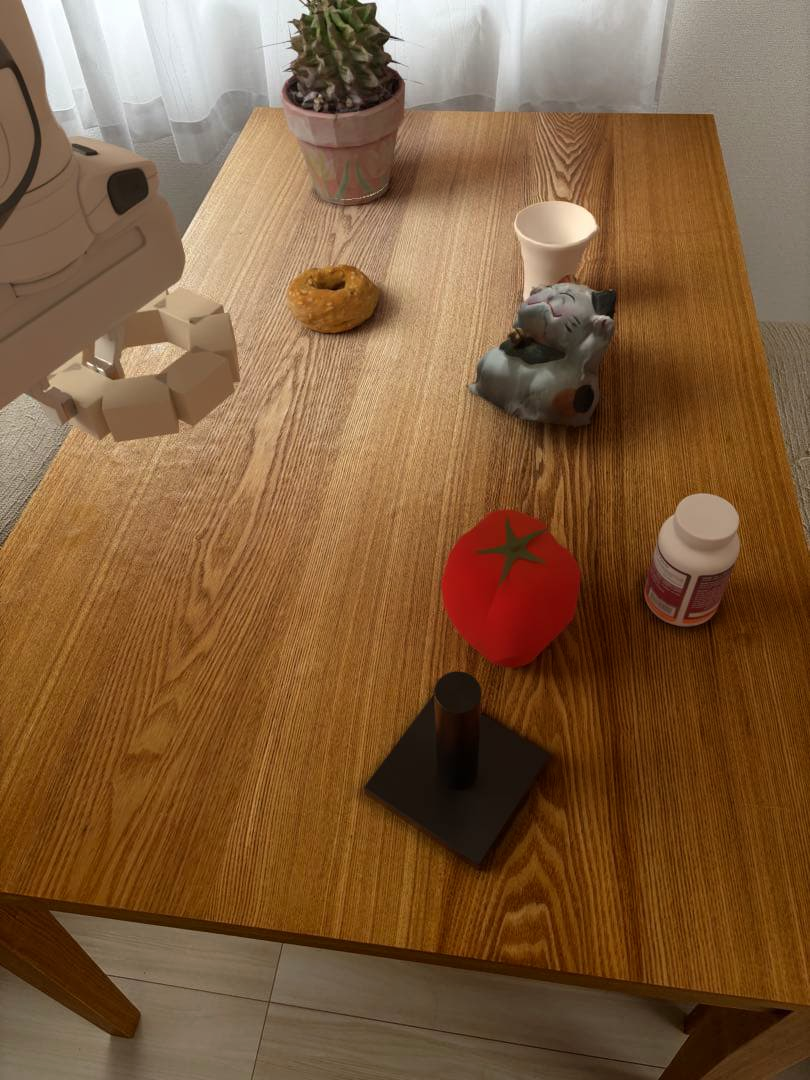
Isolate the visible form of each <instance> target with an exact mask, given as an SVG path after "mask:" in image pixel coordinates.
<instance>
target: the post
mask: <svg viewBox="0 0 810 1080" xmlns="http://www.w3.org/2000/svg"><path fill="white" fill-rule="evenodd" d="M482 691H483V690H482V686H481V684H480V683H479V681H478V680H477V678H476V677H475V676H473V675H472V674H470V673H468V672H465V671H460V670H457V671H455V670H454V671H450V672H447V673H445V674H444V675H441V677H439V679H438V680H437V682H436V683H435V685H434V689H433V695H432V696H431V697H430V699H429V700H428V701H427V703H426V704H425V705H424V707H423V708H422V709H421V710H420V711H419V713H418V715H417V716H416V717H415V718H414V720H413V721H412V723H411V724H410V725H409V726H408V728H407V729H406V730H405V732H404V733H403V734H402V736H401V737H400V738H399V740H398V741H397V742H396V744H394V746H393V747H392V749H391V750H390V752H389V753H388V754H387V756H386V757H385V759H384V760H383V761H382V762H381V764H380V765H379V766H378V768H377V769H376V771H375V772H374V773H373V774H372V776H371V777H370V778H369V780H368V781H367V782H366V784H365V785H364V786H363V791H364V795H366V796H367V797H368V798H370V799H372V800H373V801H375V802H376V803H377V804H379V805H380V806H382V807H383V808H384V809H386V810H387V811H389V812H391V813H393V814H394V815H395V816H397V817H398V818H400V819H401V820H403V821H404V822H406V823H407V824H409V825H410V826H412V827H413V828H414V829H416V830H417V831H419V832H420V833H422V834H423V835H425V836H426V837H427V838H429V839H430V840H432V841H434V842H435V843H436V844H438V845H439V846H441V847H442V848H444V849H446V850H447V851H448V852H450V853H451V854H452V855H454V856H456V857H457V858H458V859H460V860H462V861H463V862H464V863H466V864H468V865H469V866H471V867H472V868H473V869H475V870H476V871H479V870H480V869H481V868H482V866H483V864H484V863H485V862H486V860H487V858H488V857H489V855H490V853H491V852H492V851H493V848H494V847H495V846H496V844H497V842H498V841H499V839H500V838H501V836H502V834H503V833H504V832H505V830H506V828H507V827H508V825H509V824H510V822H511V820H512V819H513V817H514V816H515V814H516V812H517V811H518V809H519V808H520V806H521V805H522V803H523V801H524V800H525V798H526V796H527V795H528V794H529V792H530V790H531V789H532V787H533V785H534V784H535V783H536V781H537V779H538V778H539V776H540V775H541V773H542V771H543V770H544V769H545V767H546V765H547V764H548V762H549V760H550V752H548V751H547V750H545V749H543V748H541V747H540V746H538V745H537V744H535V743H533V742H532V741H529V740H528V739H527V738H524V737H523V736H521V735H519V734H518V733H516V732H515V731H513V730H511V729H510V728H508V727H506V726H505V725H503V724H501V723H500V722H498V721H496V720H494V719H493V718H491V717H489V716H487V715H486V714H484V713H483V712H481V711H482V693H483V692H482Z"/></svg>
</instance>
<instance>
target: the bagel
mask: <svg viewBox="0 0 810 1080" xmlns="http://www.w3.org/2000/svg"><path fill="white" fill-rule="evenodd" d="M380 296H381V294H380V290H379V287H378V286H377V285H376V284H375V283H374V281H373V280H372V279H370V278H369V276H367V275H366V274H365V273H364V272H363V271H362V270H361V269H359V268H358V267H356V266H354V265H348V264H343V263H341V264H340V263H339V264H338V265H337V266H334V265H331V266H326V267H324V268H318V267H310V268H308V269H305V270H304V271H303V272H301V273H300V274H299V275H298V276H296V277H295V278H294V279H293V280H292V281H291V283H290V285H289V287H288V289H287V291H286V296H285V298H286V307H287V308H288V310H289V311H290V313H291V314H292V317H293V318H295V319H296V320H298V321H299V322H300V324H301V325H302V326H303V327H305V328H306V329H308V330H311V331H317V332H319V333H323V334H329V333H330V334H336V333H341V332H342V333H343V332H346V331H349V330H352V329H355V327H358V326H360V325H361V324H363V323H364V322H365V321H366V320H368V319H370V318H371V317H372V316H373V314H374V309H375V308H376V307H377V305H378V304H377V303H378V302H379V300H380V298H381V297H380Z"/></svg>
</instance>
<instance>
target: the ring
mask: <svg viewBox="0 0 810 1080" xmlns="http://www.w3.org/2000/svg"><path fill="white" fill-rule="evenodd" d="M122 323H123V326H124V329H125V332H126V333H125V338H124V344H123V349H122V352H123V351H124V350H126V349H127V348H135V347H143V346H149V345H155V344H163V343H169V344H172V345H174V346H176V347H178V348H180V349H182V350H183V351H186V352H185V353H183V354H181V356H180V357H178V358H177V359H176V360H174V361H173V362H172V363H170V364H169V365H168V366H167V367H166V368H164V369H163V370H161V371H160V372H159V373H154V374H146V375H140V376H139V375H138V376H132V377H125V378H124V379H118V380H112V379H110V378H108V377H105V376H103V375H101V374H99V373H98V372H95V371H93V370H91V369H89V368H88V366H87V362H88V361H89V360H90V359H92V358H93V357H94V356H95V342H94V343H92V344H91V345H90V346H88V347H87V348H85V349H84V350H83V351H81V352H80V353H79V354H77V355H76V356H74V357H73V358H72V359H70V360H69V361H68V362H66V363H65V364H63V365H62V366H61V367H59V368H58V369H56V370H55V371H54V372H52V373H51V374H50V375H48V376H47V379H48V381H49V384H50V387H49V388H48V389H46V390H43V391H44V392H47V391H48V390H50V389H51V388H52V387H56V388H58V389H60V390H61V392H65V393H67V394H69V395H71V396H72V398H73V400H74V404H75V406H74V407H76V408H77V411H78V414H77V415H76V416H74V417H73V418H72V419H70V420H69V421H68V422H67V423H66V424H69V425H71V426H73V427H75V428H76V429H78V430H80V431H82V432H84V433H86V434H87V435H90V436H91V437H92V438H95V439H97V440H98V441H102V440H103V439H104V438H106V437H107V436H108V435H109V434H111V436H112V439H113V442H114V443H121V442H128V441H129V442H130V441H135V440H141V439H148V438H156V437H161V436H169V435H175V434H179V433H180V421H181V422H183V423H185V424H187V425H190V426H191V427H195V426H196V425H197V424H199V423H200V422H201V421H202V420H204V419H205V417H207V416H208V415H209V414H211V413H212V412H213V411H214V410H215V409H216V408H217V407H219V406H220V405H221V404H222V403H223V402H224V401H226V400H227V399H228V398H229V397H231V396H232V395H233V394H235V392H236V390H235V385H234V383H235V384H236V383H240V382H241V375H240V365H239V356H238V345H237V340H236V336H235V331H234V327H233V323H232V318H231V314H230V312H225V309H224V306H223V304H222V303H219V302H216V301H214V300H212V299H209V298H207V297H206V296H203V295H200V294H198V293H196V292H193V291H191V290H189V289H186V288H184V287H181V286H178V288H176V289H174V290H173V291H172V292H171V293H170V292H169V288H168V289H167V290H166V291H164V292H163V293H162V294H160V295H159V296H157V297H156V298H155V299H153V300H152V301H151V302H149V303H148V304H146V305H145V306H144V307H142V308H141V309H139V310H138V311H137V312H135V313H134V314H133V315H131V316H130V317H128V318H127V319H126V320H124V321H123V322H122Z"/></svg>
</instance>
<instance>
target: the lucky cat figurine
mask: <svg viewBox="0 0 810 1080" xmlns="http://www.w3.org/2000/svg"><path fill="white" fill-rule="evenodd" d="M617 297H618V292H617V289H615V288H610V289H608V288H607V289H603V290H600V291H598V290H595V289H593V288H590V287H589V285H587V284H579V283H578V279H577V277H576V275H575V276H574V275H572V274H570V273H568V274H567V275H566V276H564V277H563V278H561V279H560V280H559V281H558V282H557V283H556V284H555V285H550V286H546V285H541V284H540V285H539V286H538V287H536V288H535V287H532V290H531V292H530V297H529V298H528V299H527V300H526V301H523V302H522V303H521V304H520V306H519V309H518V310H517V316H516V318H515V320H514V321H513V324H512V328H511V330H510V331H509V333H508V335H507V340H504V341H503V342H500V344H499V345H497V346H494V347H493V348H491V349H489V350H488V351H487V352H485V353H484V354H483V355H482V357H481V358H480V359H479V360H478V362H477V364H476V372H475V373H476V380H475V382H473V383H470V384H465V387H466V389H467V390H468V391H469V393H470V394H473V395H475V396H478V397H479V398H482V399H484V400H486V401H488V402H489V403H491V404H492V405H493V406H495V408H497V409H498V410H499V411H501V412H503V413H505V414H507V415H510V416H513V417H515V418H518V419H519V420H524V421H528V422H534V423H544V424H554V425H555V424H556V425H566V426H569V427H581V426H588V425H591V423H592V419H593V414H594V412H595V409H596V407H597V405H598V403H599V401H600V396H601V394H600V389H599V370H600V365H601V362H602V361H603V360H604V358H605V355H606V351H607V349H608V348H609V347H610V345H611V342H612V340H613V337H614V335H615V332H616V323H615V320H614V316H615V314H616V312H617V310H616V304H617V299H618V298H617Z"/></svg>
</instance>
